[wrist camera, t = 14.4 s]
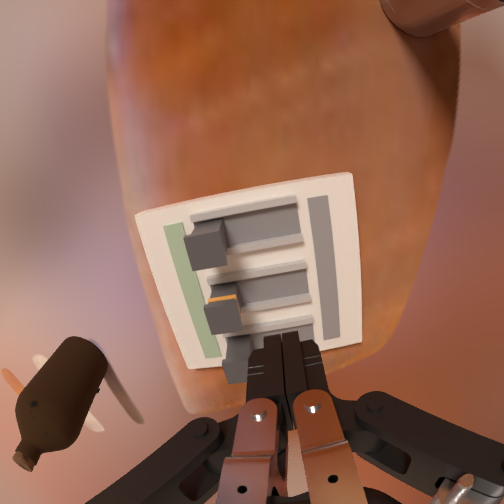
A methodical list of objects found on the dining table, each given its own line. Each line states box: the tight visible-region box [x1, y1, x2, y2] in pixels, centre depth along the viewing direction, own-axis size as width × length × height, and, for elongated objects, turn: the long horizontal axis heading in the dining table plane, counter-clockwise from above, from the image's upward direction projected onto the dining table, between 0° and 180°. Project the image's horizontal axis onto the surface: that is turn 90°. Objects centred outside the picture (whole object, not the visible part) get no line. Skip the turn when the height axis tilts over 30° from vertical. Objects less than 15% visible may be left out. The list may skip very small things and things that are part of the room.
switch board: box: [135, 172, 362, 384], centre depth 36 cm, size 26×24×8 cm
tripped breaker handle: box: [203, 282, 243, 335], centre depth 35 cm, size 4×4×6 cm
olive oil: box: [13, 336, 107, 472], centre depth 34 cm, size 11×11×25 cm
